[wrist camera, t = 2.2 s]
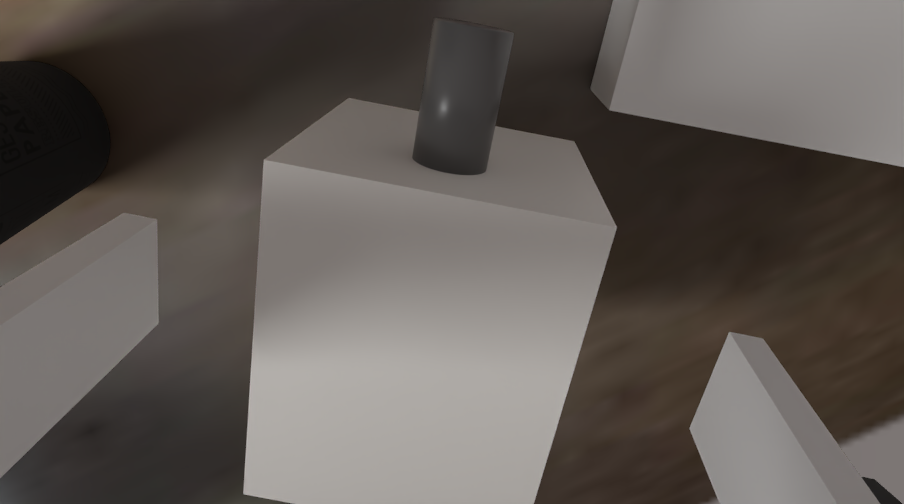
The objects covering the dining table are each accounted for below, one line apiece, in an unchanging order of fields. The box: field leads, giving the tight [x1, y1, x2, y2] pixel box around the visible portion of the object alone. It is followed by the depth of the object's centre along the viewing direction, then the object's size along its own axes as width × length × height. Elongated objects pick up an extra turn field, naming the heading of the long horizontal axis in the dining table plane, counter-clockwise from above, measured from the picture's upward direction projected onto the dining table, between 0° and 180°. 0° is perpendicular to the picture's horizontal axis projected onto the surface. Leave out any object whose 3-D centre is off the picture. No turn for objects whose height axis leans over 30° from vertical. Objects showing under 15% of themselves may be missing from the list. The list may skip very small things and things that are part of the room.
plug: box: [243, 17, 617, 504], centre depth 18 cm, size 11×6×11 cm, turn 170°
